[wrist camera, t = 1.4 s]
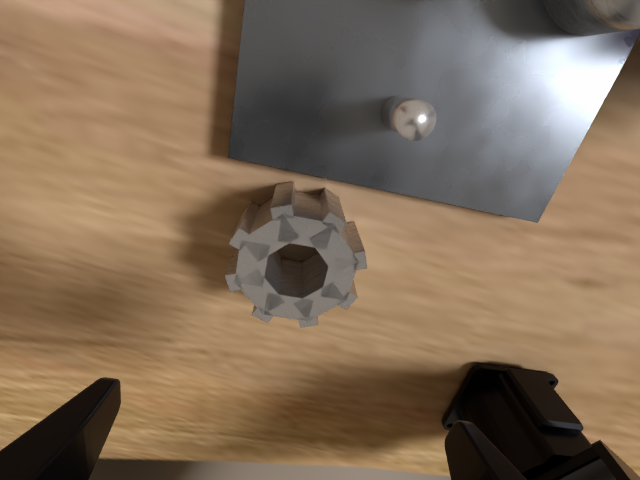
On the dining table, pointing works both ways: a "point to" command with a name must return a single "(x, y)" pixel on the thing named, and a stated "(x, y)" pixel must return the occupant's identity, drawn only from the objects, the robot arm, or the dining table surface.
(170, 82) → the dining table surface
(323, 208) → the planet gear
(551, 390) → the robot arm
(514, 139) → the plate
